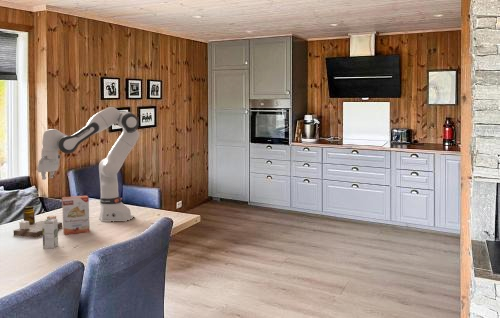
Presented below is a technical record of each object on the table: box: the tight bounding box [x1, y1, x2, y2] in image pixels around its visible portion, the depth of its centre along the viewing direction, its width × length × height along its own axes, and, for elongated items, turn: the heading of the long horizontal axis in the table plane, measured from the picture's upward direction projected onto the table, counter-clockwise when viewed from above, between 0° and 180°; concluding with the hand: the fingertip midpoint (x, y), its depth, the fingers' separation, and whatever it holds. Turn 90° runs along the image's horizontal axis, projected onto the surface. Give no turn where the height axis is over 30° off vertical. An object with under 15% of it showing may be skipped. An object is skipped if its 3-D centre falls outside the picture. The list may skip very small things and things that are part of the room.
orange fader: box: [46, 215, 57, 219], centre depth 261 cm, size 4×3×4 cm
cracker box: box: [61, 195, 91, 235], centre depth 253 cm, size 14×6×21 cm, turn 117°
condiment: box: [23, 205, 36, 225], centre depth 267 cm, size 7×8×12 cm
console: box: [13, 220, 63, 239], centre depth 256 cm, size 15×22×3 cm
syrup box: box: [42, 218, 59, 250], centre depth 227 cm, size 6×6×14 cm
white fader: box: [18, 220, 30, 229], centre depth 249 cm, size 4×3×4 cm
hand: (47, 178), depth 263 cm, fingers open, 8 cm apart
